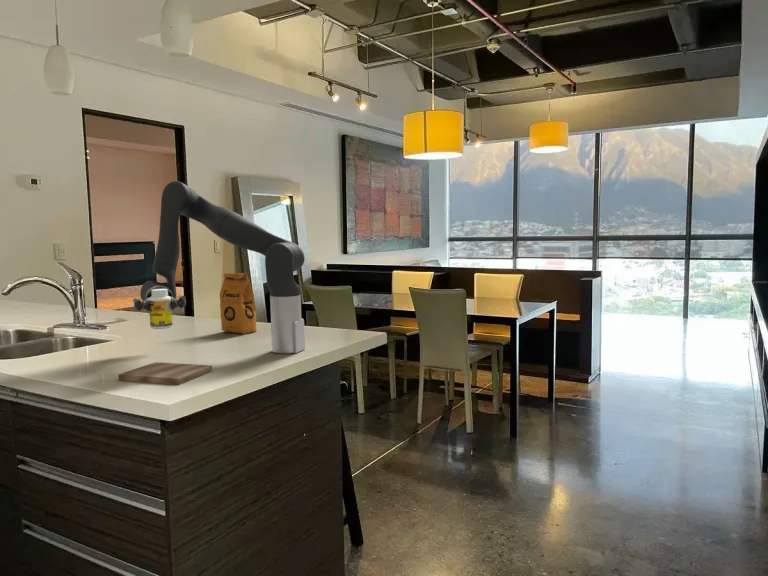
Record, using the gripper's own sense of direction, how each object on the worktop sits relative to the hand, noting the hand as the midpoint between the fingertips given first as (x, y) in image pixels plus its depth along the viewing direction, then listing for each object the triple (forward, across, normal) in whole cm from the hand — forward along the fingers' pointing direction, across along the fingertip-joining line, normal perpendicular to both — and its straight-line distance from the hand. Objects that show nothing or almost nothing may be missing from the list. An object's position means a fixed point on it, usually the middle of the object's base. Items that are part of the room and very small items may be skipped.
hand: (160, 306), depth 152 cm
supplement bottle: (-2, 0, +6) cm, 7 cm away
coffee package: (-55, +27, +18) cm, 64 cm away
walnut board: (+4, 0, +18) cm, 18 cm away
